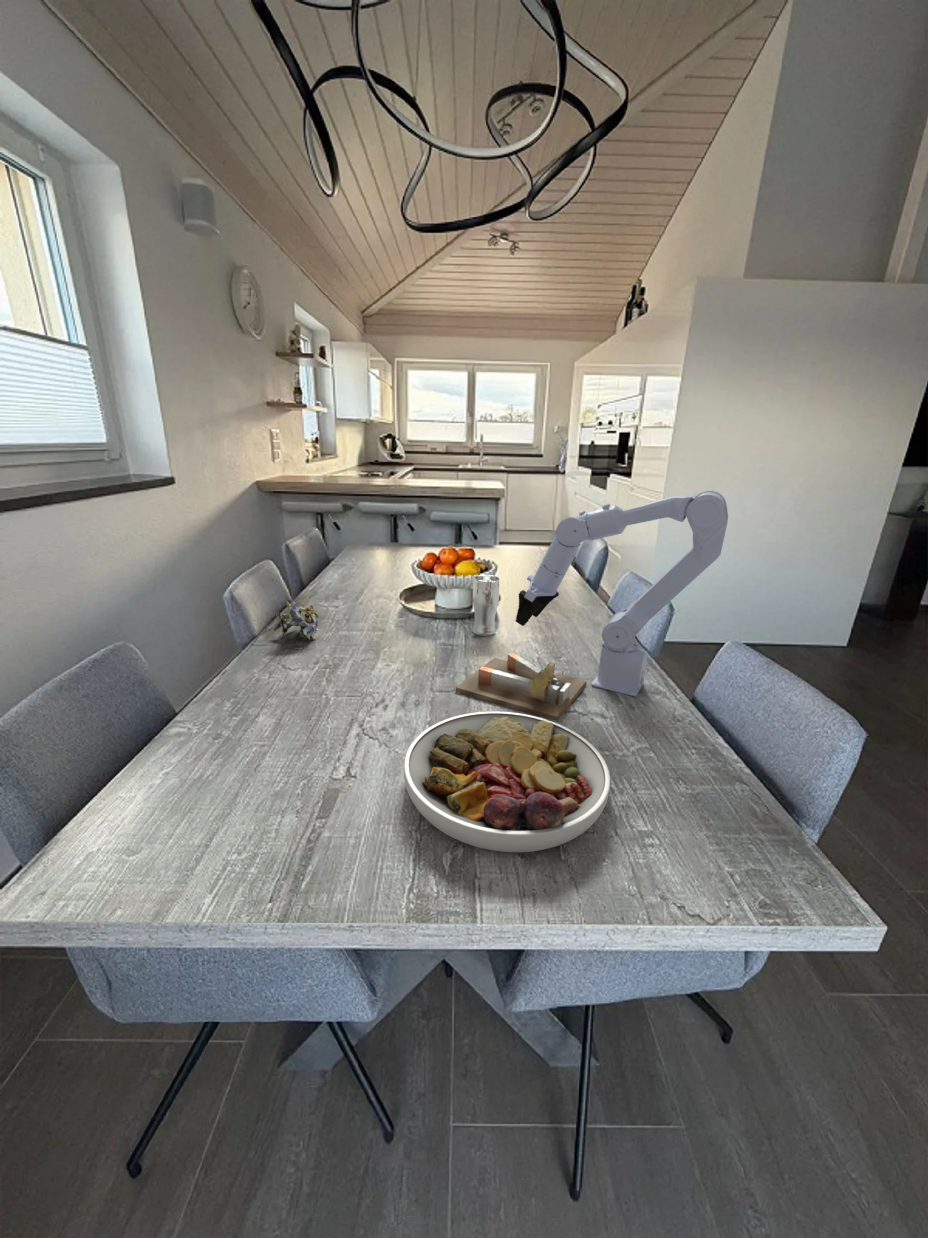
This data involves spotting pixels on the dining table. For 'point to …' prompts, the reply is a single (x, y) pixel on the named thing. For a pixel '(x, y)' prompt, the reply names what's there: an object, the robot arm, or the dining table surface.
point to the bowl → (506, 781)
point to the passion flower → (300, 620)
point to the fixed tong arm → (521, 685)
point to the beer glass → (485, 604)
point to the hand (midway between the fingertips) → (526, 619)
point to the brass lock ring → (542, 681)
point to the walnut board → (516, 700)
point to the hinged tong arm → (527, 669)
